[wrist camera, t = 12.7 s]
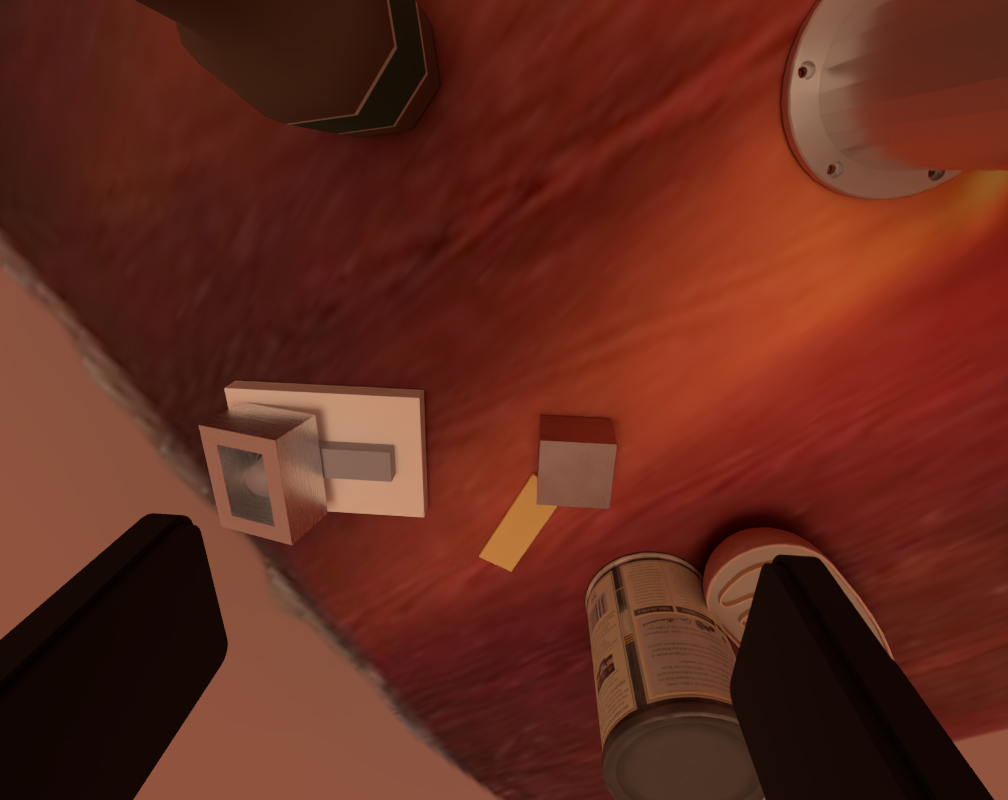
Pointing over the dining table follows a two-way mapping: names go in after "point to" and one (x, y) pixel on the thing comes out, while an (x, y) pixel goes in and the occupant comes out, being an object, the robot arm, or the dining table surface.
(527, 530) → the yellow flat bar
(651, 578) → the coffee can
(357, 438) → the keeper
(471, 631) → the dining table surface
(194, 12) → the beer bottle
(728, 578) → the mitochondrion model
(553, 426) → the block
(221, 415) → the link
